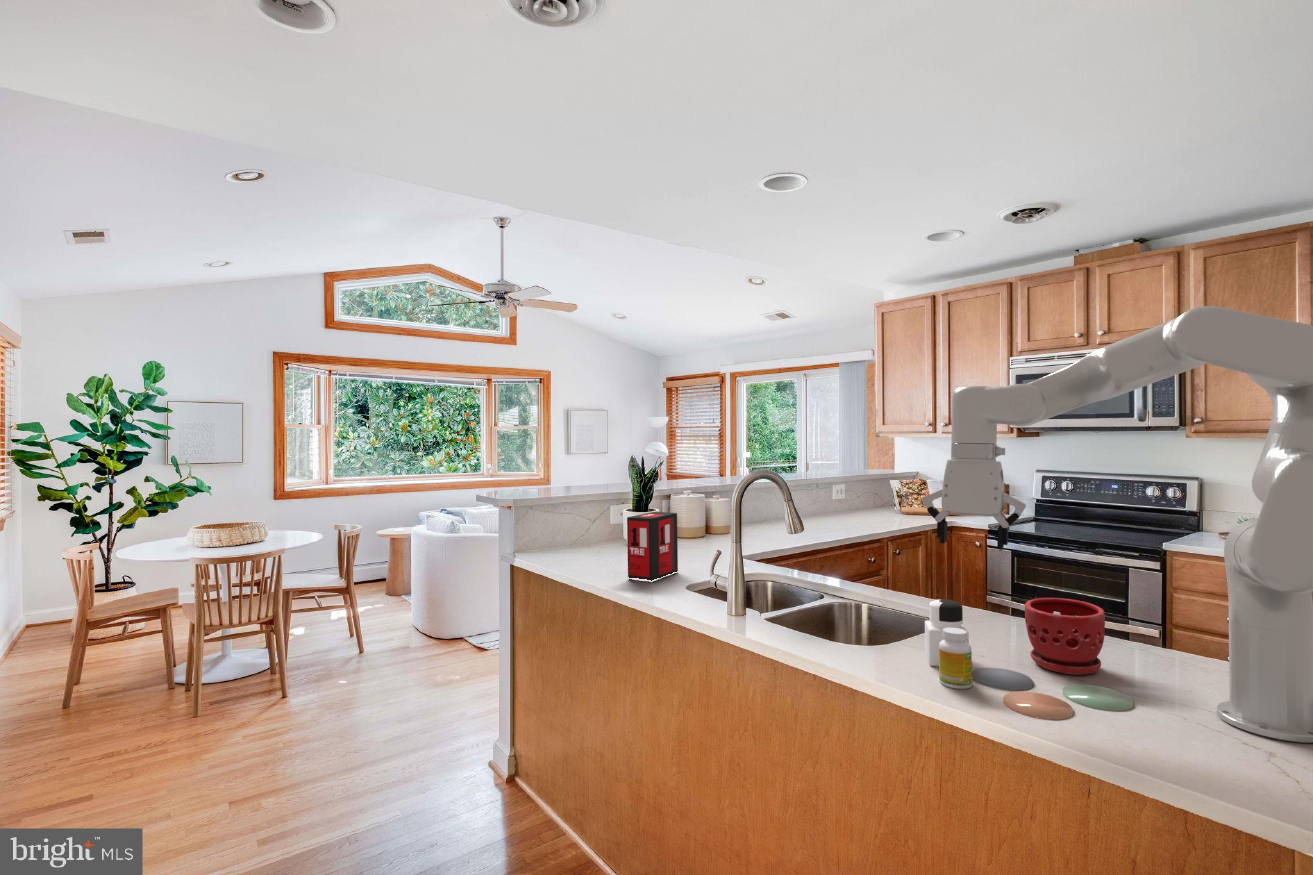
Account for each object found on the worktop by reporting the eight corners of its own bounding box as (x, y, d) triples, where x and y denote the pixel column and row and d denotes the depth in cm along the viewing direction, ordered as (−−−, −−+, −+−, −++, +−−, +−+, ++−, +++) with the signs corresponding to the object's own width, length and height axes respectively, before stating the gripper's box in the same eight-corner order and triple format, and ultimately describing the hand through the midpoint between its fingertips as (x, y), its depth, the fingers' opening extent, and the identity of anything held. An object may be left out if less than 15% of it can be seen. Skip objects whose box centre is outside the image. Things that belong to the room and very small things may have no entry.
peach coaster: (1065, 700, 111) (1065, 695, 111) (1079, 725, 102) (1079, 720, 102) (999, 692, 115) (999, 688, 115) (1007, 716, 105) (1007, 711, 105)
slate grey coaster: (1028, 675, 123) (1028, 671, 123) (1037, 695, 113) (1037, 690, 113) (969, 669, 126) (969, 665, 126) (974, 688, 117) (974, 683, 117)
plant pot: (1018, 653, 134) (1017, 595, 134) (1092, 659, 130) (1091, 599, 130) (1034, 676, 121) (1033, 611, 121) (1116, 683, 117) (1115, 616, 117)
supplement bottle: (971, 691, 114) (970, 636, 114) (937, 686, 117) (937, 632, 117) (972, 681, 119) (972, 628, 119) (941, 676, 122) (940, 624, 122)
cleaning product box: (655, 570, 221) (654, 511, 221) (677, 573, 217) (677, 513, 217) (627, 579, 207) (627, 517, 207) (651, 582, 203) (650, 518, 203)
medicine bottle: (962, 657, 132) (961, 598, 132) (969, 669, 125) (968, 607, 125) (924, 654, 134) (924, 596, 134) (929, 666, 127) (928, 605, 127)
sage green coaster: (1122, 692, 114) (1122, 688, 114) (1142, 716, 104) (1142, 711, 104) (1056, 685, 117) (1056, 681, 117) (1069, 708, 108) (1069, 703, 108)
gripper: (1029, 454, 118) (1026, 548, 119) (928, 451, 128) (926, 537, 128) (1025, 455, 112) (1022, 554, 112) (919, 452, 122) (917, 543, 122)
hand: (971, 545), depth 120 cm, fingers open, 9 cm apart
